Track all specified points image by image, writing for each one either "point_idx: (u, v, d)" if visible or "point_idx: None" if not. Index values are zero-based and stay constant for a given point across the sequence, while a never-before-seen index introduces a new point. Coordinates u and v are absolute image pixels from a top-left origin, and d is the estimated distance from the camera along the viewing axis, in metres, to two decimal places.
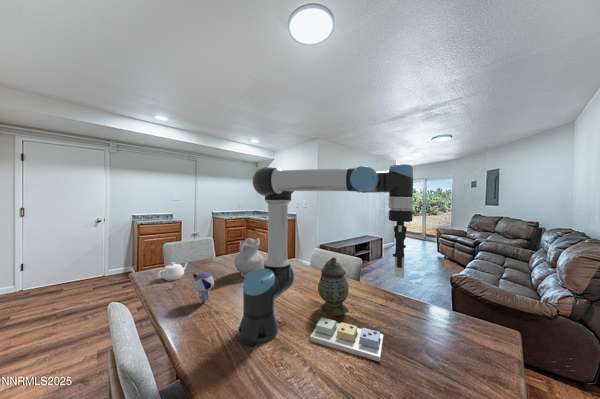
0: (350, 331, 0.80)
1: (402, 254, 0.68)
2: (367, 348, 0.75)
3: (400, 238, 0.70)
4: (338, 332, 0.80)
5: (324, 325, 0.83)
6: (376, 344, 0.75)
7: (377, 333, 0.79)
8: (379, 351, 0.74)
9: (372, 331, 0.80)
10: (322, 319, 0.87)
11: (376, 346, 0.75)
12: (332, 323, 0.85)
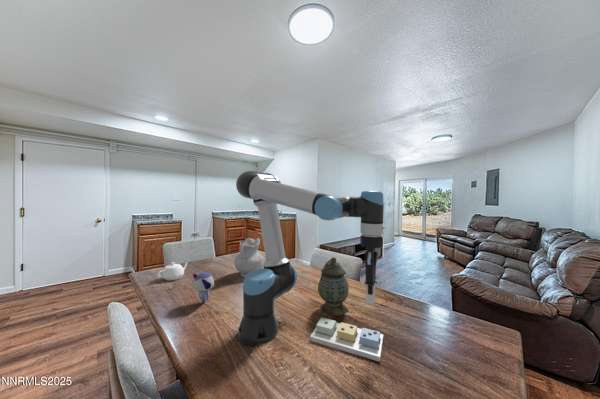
0: (350, 331, 0.80)
1: (372, 283, 0.75)
2: (367, 348, 0.75)
3: (369, 270, 0.74)
4: (338, 332, 0.80)
5: (324, 325, 0.83)
6: (376, 344, 0.75)
7: (377, 333, 0.79)
8: (379, 351, 0.74)
9: (372, 331, 0.80)
10: (322, 319, 0.87)
11: (376, 346, 0.75)
12: (332, 323, 0.85)
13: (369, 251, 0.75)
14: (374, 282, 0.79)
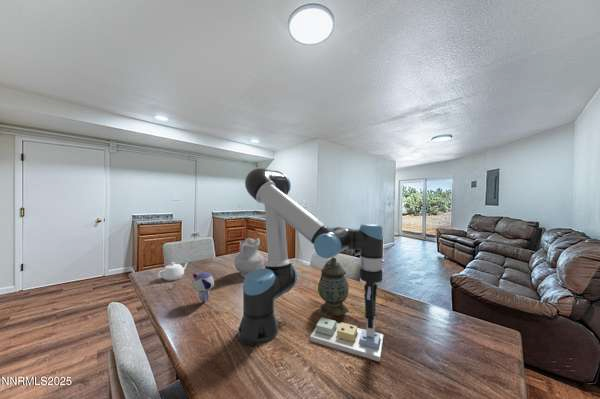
0: (350, 331, 0.80)
1: (371, 317, 0.75)
2: (367, 348, 0.75)
3: (369, 306, 0.74)
4: (338, 332, 0.80)
5: (324, 325, 0.83)
6: (376, 346, 0.75)
7: (377, 335, 0.79)
8: (379, 351, 0.74)
9: None
10: (322, 319, 0.87)
11: (376, 348, 0.75)
12: (332, 323, 0.85)
13: (369, 286, 0.75)
14: (374, 315, 0.79)
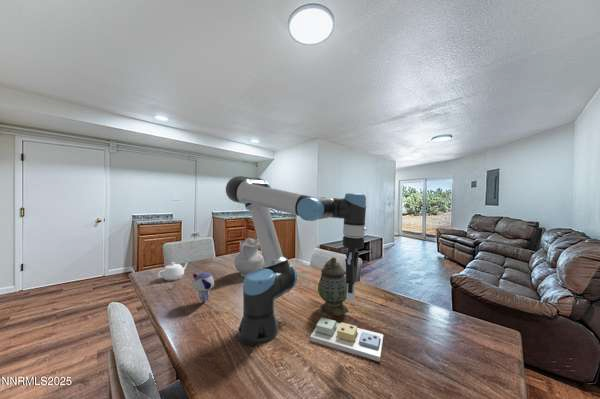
0: (350, 331, 0.80)
1: (351, 282, 0.78)
2: (367, 348, 0.75)
3: (349, 270, 0.77)
4: (338, 332, 0.80)
5: (324, 325, 0.83)
6: (376, 349, 0.75)
7: (377, 337, 0.79)
8: (379, 351, 0.74)
9: (372, 335, 0.80)
10: (322, 319, 0.87)
11: None
12: (332, 323, 0.85)
13: (350, 251, 0.78)
14: (354, 281, 0.82)
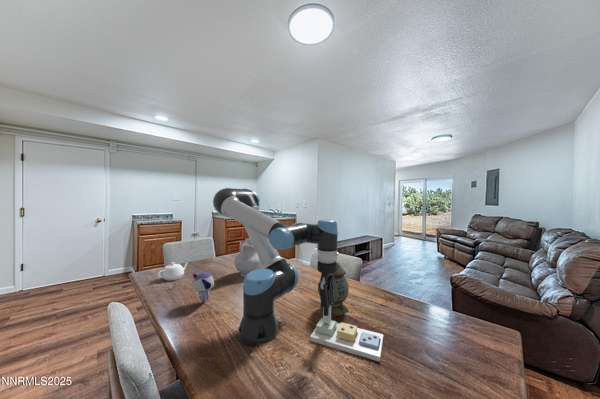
0: (350, 331, 0.80)
1: (326, 305, 0.82)
2: (367, 348, 0.75)
3: (323, 294, 0.81)
4: (338, 332, 0.80)
5: (324, 326, 0.83)
6: (376, 349, 0.75)
7: (377, 337, 0.79)
8: (379, 351, 0.74)
9: (372, 335, 0.80)
10: (322, 320, 0.87)
11: None
12: (332, 324, 0.85)
13: (323, 276, 0.82)
14: (330, 304, 0.85)
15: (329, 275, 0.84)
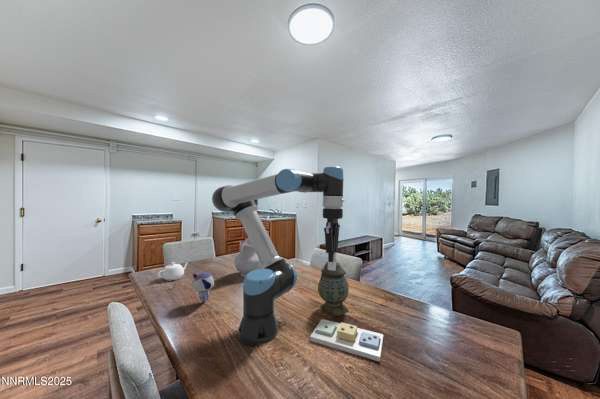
0: (350, 331, 0.80)
1: (331, 250, 0.82)
2: (367, 348, 0.75)
3: (328, 239, 0.81)
4: (338, 332, 0.80)
5: (324, 329, 0.83)
6: (376, 349, 0.75)
7: (377, 337, 0.79)
8: (379, 351, 0.74)
9: (372, 335, 0.80)
10: (322, 323, 0.87)
11: None
12: (332, 327, 0.85)
13: (329, 221, 0.82)
14: (335, 251, 0.85)
15: (334, 222, 0.84)
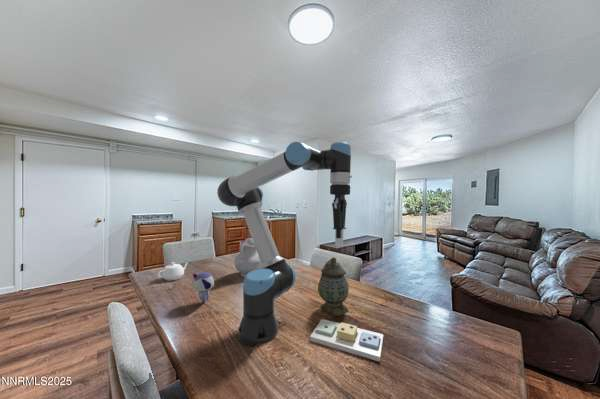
0: (350, 331, 0.80)
1: (339, 226, 0.82)
2: (367, 348, 0.75)
3: (336, 214, 0.81)
4: (338, 332, 0.80)
5: (324, 329, 0.83)
6: (376, 349, 0.75)
7: (377, 337, 0.79)
8: (379, 351, 0.74)
9: (372, 335, 0.80)
10: (322, 323, 0.87)
11: None
12: (332, 327, 0.85)
13: (336, 197, 0.82)
14: (342, 228, 0.85)
15: (342, 198, 0.84)
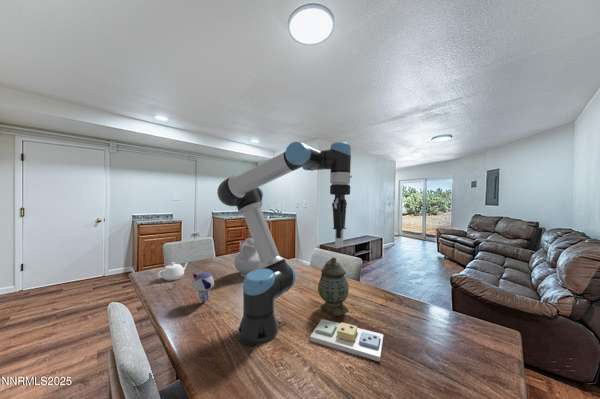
0: (350, 331, 0.80)
1: (339, 226, 0.82)
2: (367, 348, 0.75)
3: (336, 214, 0.81)
4: (338, 332, 0.80)
5: (324, 329, 0.83)
6: (376, 349, 0.75)
7: (377, 337, 0.79)
8: (379, 351, 0.74)
9: (372, 335, 0.80)
10: (322, 323, 0.87)
11: None
12: (332, 327, 0.85)
13: (336, 197, 0.82)
14: (342, 228, 0.85)
15: (342, 198, 0.84)
